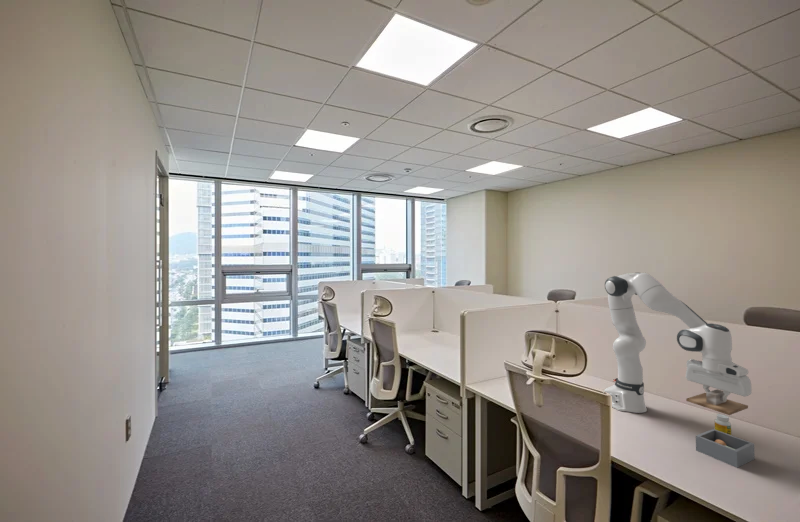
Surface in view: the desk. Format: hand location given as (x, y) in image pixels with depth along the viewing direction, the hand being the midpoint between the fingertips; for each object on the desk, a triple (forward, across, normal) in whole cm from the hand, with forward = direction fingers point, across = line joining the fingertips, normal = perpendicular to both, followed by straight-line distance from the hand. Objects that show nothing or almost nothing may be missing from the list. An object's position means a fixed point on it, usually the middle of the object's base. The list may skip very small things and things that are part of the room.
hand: (716, 398), depth 140 cm
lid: (+2, 0, 0) cm, 2 cm away
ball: (+21, 0, +2) cm, 22 cm away
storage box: (+22, +3, 0) cm, 22 cm away
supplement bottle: (+23, -5, +18) cm, 29 cm away
